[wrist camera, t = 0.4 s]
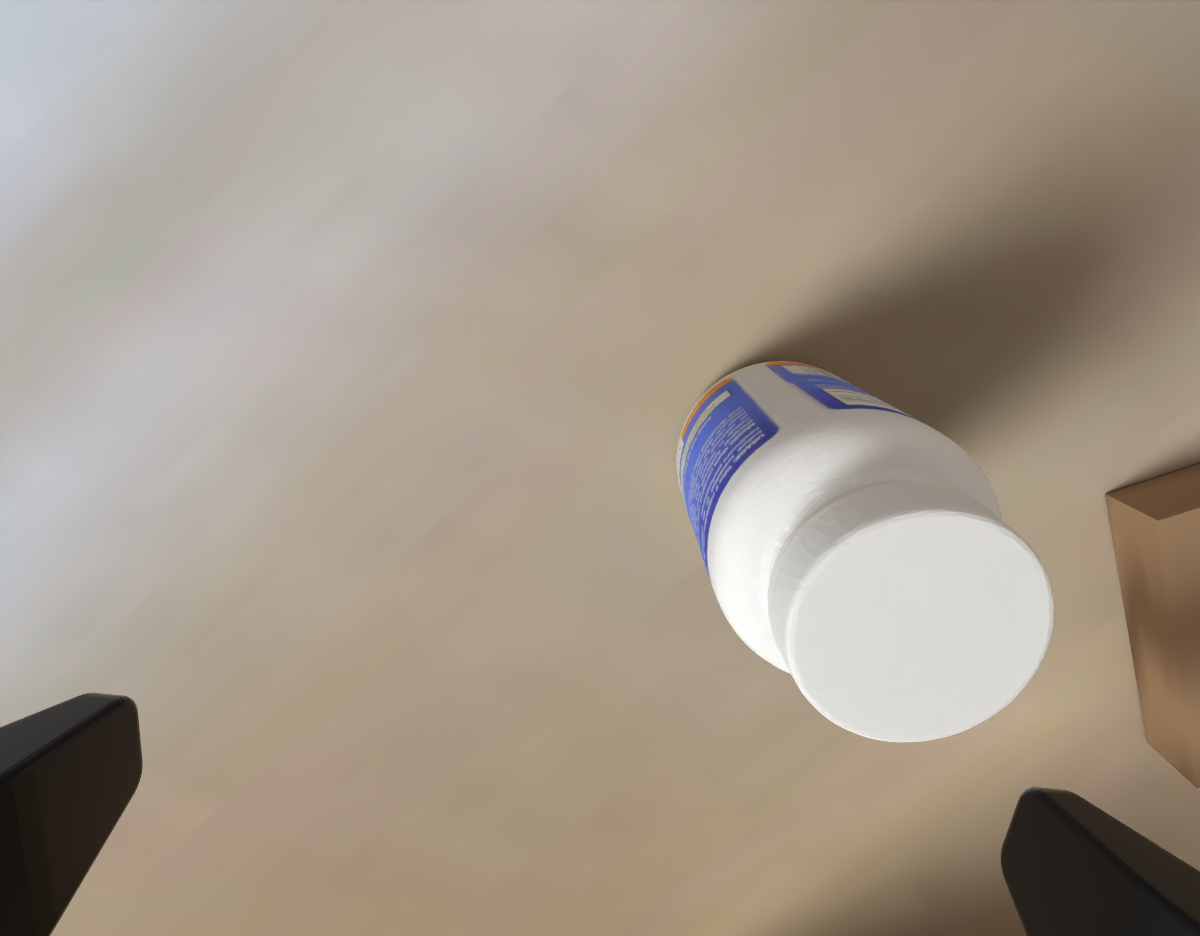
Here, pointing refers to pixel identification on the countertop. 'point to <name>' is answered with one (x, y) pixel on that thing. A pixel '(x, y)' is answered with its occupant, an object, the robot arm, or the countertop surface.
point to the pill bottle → (861, 553)
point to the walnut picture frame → (1163, 607)
